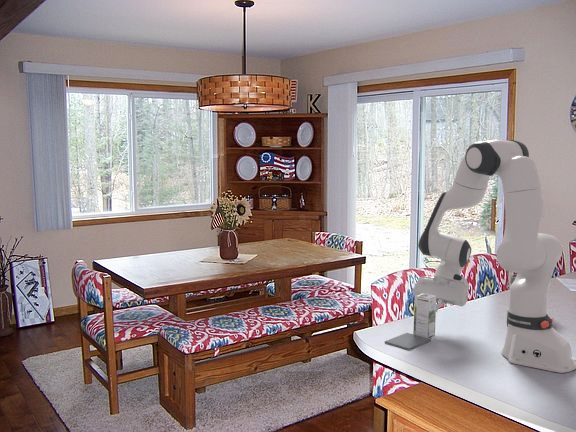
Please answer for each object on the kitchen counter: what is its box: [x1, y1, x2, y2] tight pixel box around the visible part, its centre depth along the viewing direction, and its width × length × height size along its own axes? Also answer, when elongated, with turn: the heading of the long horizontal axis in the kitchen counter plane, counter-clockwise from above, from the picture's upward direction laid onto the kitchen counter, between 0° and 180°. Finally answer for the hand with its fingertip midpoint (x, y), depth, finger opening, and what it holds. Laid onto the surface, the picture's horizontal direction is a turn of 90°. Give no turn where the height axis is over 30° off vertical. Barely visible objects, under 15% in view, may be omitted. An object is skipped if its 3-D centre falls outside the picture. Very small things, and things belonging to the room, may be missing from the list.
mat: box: [384, 332, 432, 351], centre depth 198 cm, size 10×13×1 cm
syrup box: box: [412, 293, 437, 339], centre depth 204 cm, size 6×6×14 cm
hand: (432, 310), depth 208 cm, fingers closed
